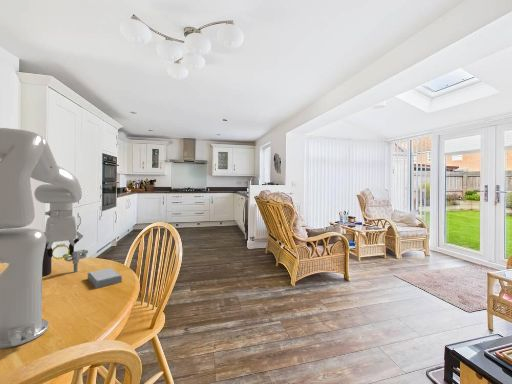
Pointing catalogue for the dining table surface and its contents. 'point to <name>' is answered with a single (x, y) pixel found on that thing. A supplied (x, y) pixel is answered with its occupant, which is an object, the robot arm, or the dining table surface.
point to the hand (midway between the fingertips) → (60, 255)
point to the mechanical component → (76, 258)
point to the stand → (104, 277)
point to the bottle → (46, 263)
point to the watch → (60, 246)
